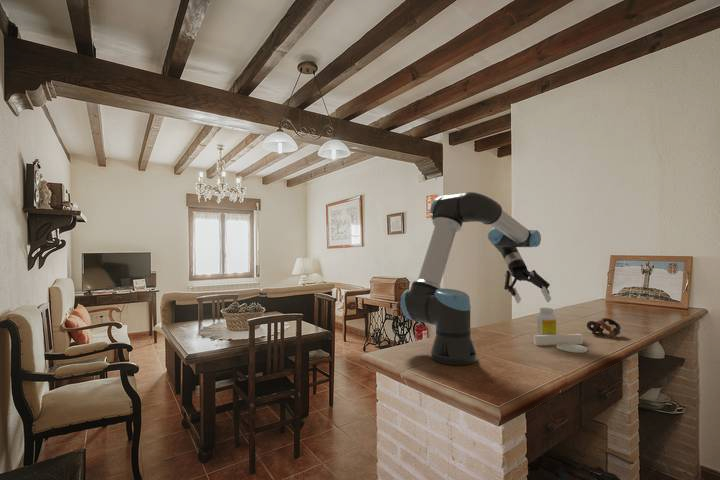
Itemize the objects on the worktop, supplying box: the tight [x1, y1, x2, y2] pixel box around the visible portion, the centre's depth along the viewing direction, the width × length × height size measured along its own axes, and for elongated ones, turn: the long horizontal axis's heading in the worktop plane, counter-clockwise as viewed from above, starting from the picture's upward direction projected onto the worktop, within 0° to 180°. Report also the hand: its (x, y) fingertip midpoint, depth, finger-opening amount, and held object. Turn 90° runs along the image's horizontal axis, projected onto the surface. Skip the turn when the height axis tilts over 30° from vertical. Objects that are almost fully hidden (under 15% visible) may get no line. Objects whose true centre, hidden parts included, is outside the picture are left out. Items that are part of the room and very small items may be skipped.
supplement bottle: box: [537, 307, 557, 335], centre depth 145 cm, size 7×7×13 cm
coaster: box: [555, 343, 589, 354], centre depth 133 cm, size 10×10×1 cm
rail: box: [532, 333, 584, 346], centre depth 140 cm, size 19×2×4 cm, turn 94°
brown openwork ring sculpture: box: [586, 317, 621, 339], centre depth 152 cm, size 12×10×8 cm
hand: (534, 301), depth 155 cm, fingers open, 13 cm apart
